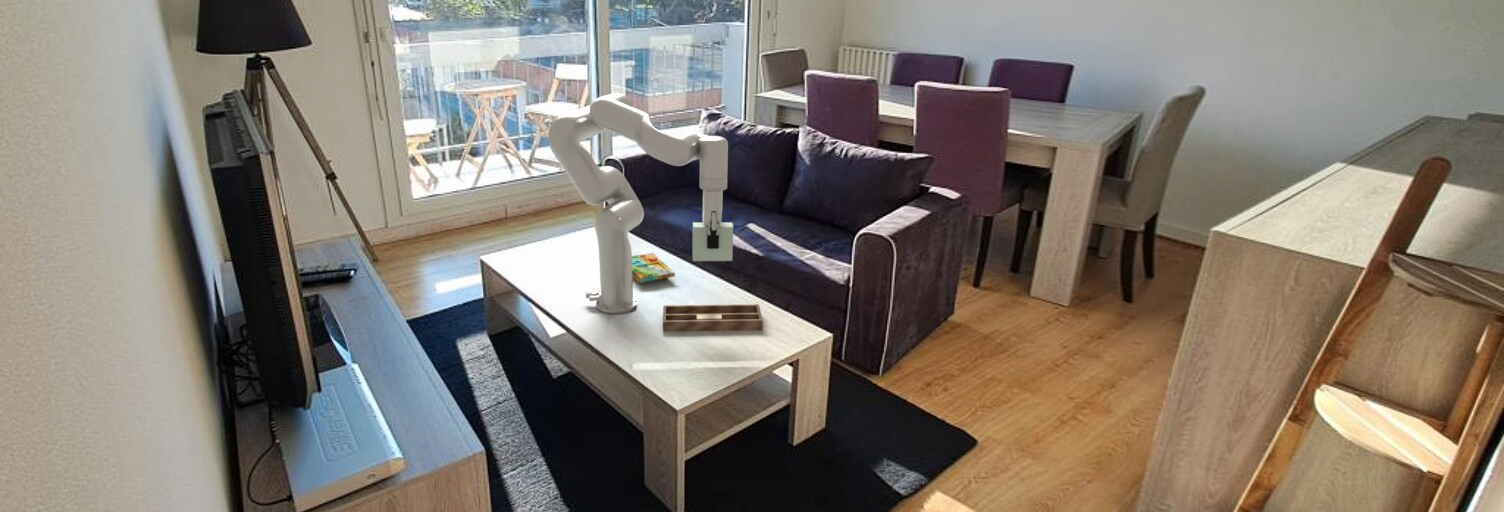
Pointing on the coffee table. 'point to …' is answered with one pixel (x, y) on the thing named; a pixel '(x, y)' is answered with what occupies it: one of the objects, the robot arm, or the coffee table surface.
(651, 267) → the puzzle game
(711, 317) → the offcut upper
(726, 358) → the coffee table surface
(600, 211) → the robot arm
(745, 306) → the tray
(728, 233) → the pale green block
